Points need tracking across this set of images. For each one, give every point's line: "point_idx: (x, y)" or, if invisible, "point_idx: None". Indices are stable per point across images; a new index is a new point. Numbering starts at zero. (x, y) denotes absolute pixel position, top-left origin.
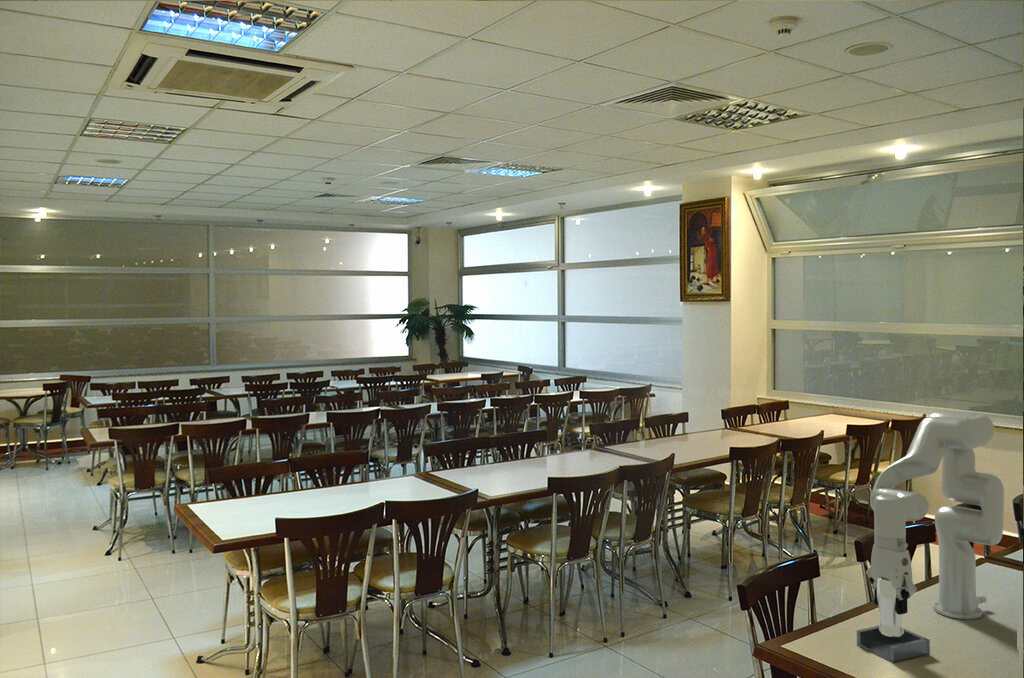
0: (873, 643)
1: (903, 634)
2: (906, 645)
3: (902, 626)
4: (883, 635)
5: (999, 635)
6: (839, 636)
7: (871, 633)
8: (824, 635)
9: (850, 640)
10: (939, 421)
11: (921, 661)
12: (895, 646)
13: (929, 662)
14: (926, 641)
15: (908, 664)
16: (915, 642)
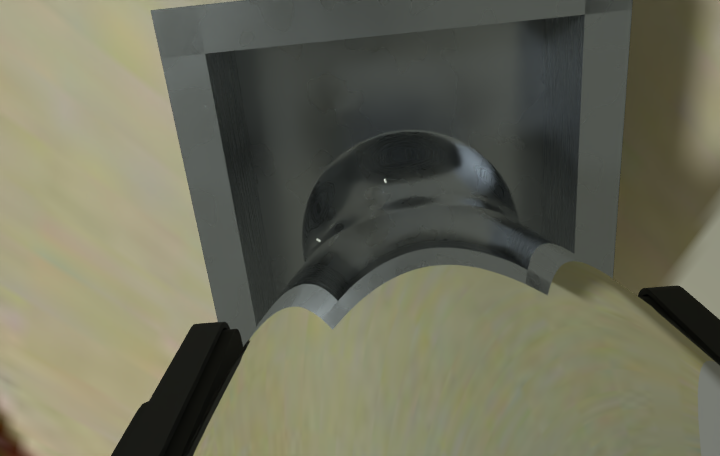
0: (296, 257)
1: (506, 184)
2: (613, 251)
3: (507, 204)
4: (243, 145)
5: None
6: (107, 349)
7: (256, 278)
8: (77, 417)
9: (181, 328)
10: None
11: (628, 124)
12: None
13: (668, 81)
14: (626, 5)
15: (618, 239)
16: (614, 143)
